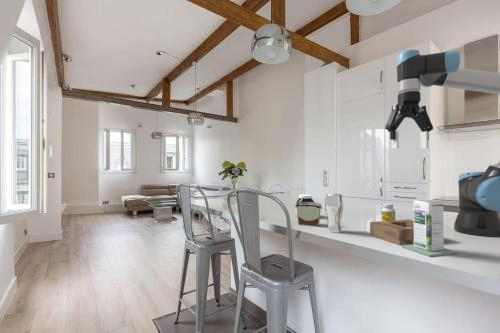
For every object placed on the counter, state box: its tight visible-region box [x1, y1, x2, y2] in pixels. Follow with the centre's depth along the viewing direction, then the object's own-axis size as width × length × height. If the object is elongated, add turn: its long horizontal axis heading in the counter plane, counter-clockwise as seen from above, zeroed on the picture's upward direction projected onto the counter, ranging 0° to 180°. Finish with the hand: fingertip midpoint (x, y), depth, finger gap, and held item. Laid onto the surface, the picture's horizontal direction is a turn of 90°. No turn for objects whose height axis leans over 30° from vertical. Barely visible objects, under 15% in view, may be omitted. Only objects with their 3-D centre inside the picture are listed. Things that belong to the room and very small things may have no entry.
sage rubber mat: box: [401, 244, 458, 258], centre depth 83 cm, size 10×10×1 cm
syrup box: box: [412, 199, 445, 251], centre depth 83 cm, size 6×6×14 cm
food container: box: [294, 201, 323, 228], centre depth 123 cm, size 12×6×10 cm, turn 58°
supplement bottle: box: [381, 203, 396, 221], centre depth 118 cm, size 5×5×10 cm
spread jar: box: [295, 194, 315, 215], centre depth 145 cm, size 12×11×12 cm
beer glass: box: [324, 193, 344, 234], centre depth 109 cm, size 7×7×15 cm
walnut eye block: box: [369, 218, 414, 246], centre depth 97 cm, size 18×14×5 cm
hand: (409, 148), depth 102 cm, fingers open, 13 cm apart
